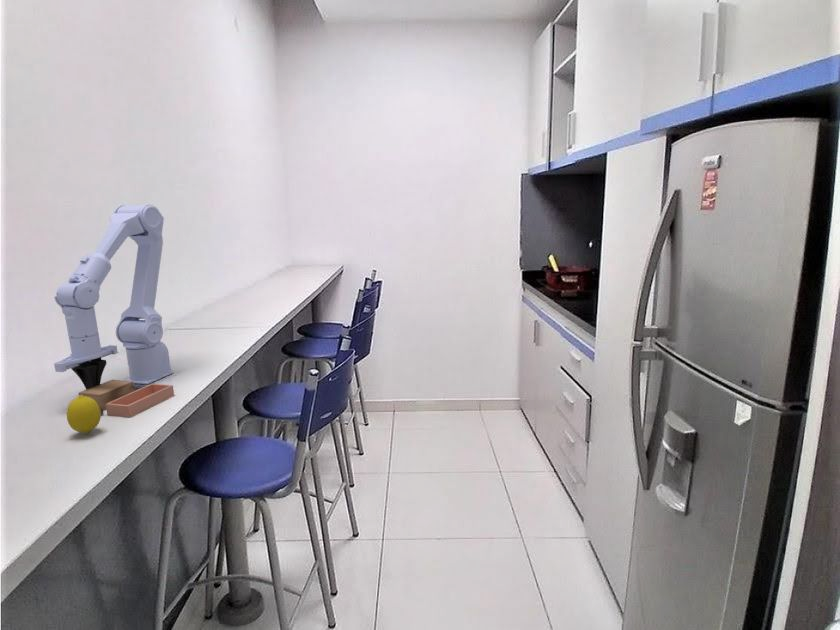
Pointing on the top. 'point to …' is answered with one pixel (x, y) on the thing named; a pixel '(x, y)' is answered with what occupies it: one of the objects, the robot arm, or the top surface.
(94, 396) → the block
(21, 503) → the top surface
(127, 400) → the tray
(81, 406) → the lemon
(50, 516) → the top surface
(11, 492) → the top surface
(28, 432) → the top surface
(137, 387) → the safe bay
